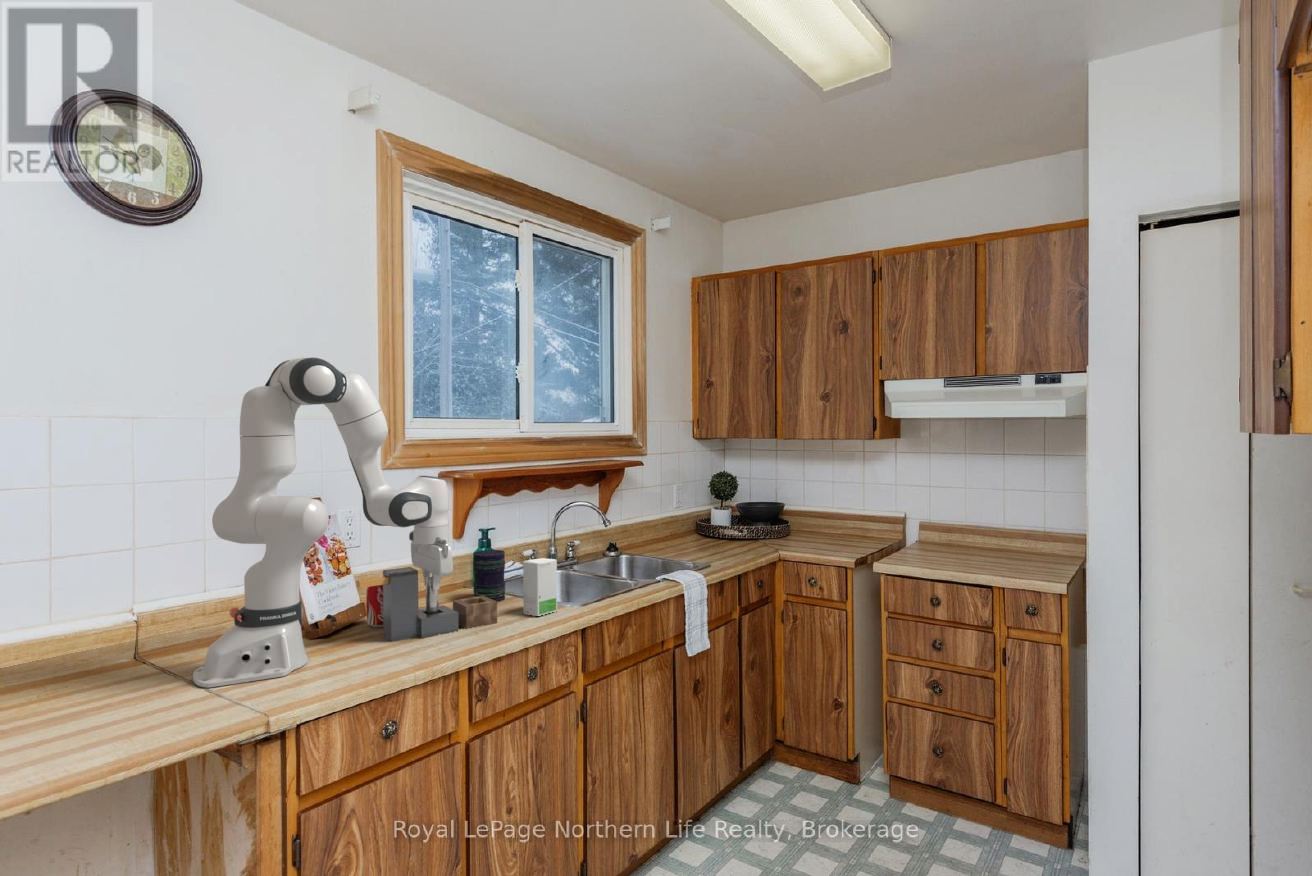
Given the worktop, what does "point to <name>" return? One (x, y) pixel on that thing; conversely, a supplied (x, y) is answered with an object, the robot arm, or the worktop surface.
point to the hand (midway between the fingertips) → (432, 587)
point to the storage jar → (489, 574)
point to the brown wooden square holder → (475, 611)
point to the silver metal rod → (431, 598)
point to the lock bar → (372, 582)
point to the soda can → (375, 606)
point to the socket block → (411, 609)
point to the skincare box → (539, 586)
